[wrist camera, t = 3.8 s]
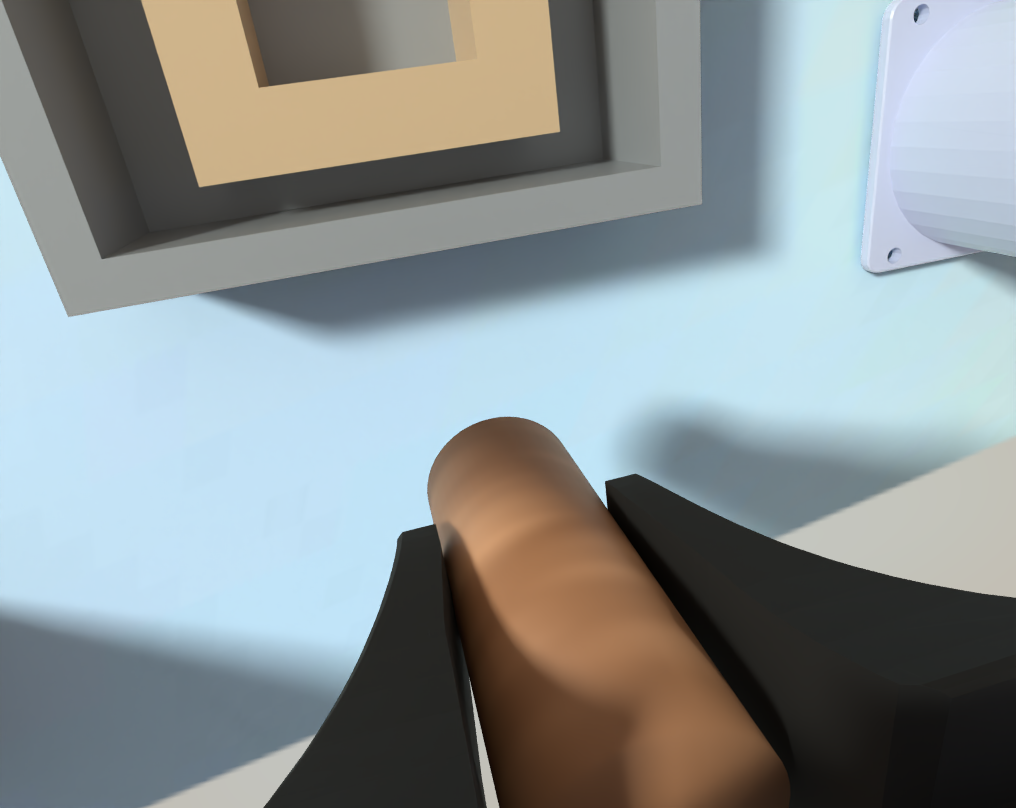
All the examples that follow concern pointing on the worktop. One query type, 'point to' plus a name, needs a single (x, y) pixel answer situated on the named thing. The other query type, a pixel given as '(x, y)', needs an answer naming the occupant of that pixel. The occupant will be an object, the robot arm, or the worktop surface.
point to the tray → (337, 212)
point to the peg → (581, 643)
